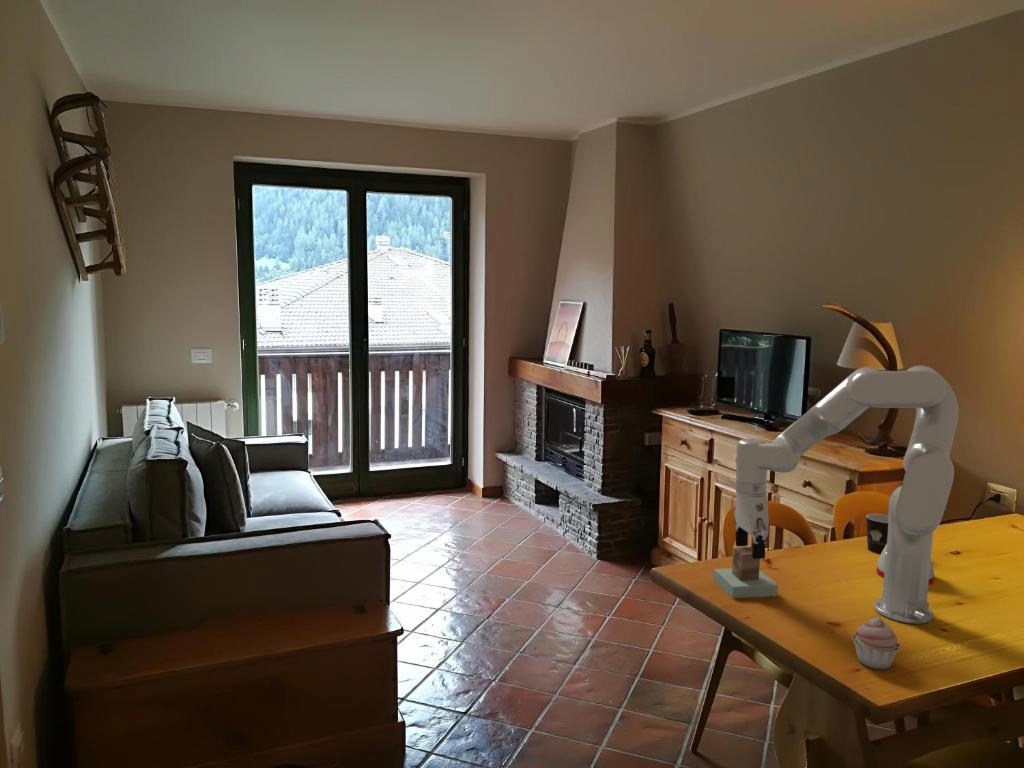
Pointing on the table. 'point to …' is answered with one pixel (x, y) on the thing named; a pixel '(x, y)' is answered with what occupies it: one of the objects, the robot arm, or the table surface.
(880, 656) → the cupcake
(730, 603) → the table surface
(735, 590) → the plate
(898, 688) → the table surface
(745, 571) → the walnut block
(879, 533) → the coffee mug
